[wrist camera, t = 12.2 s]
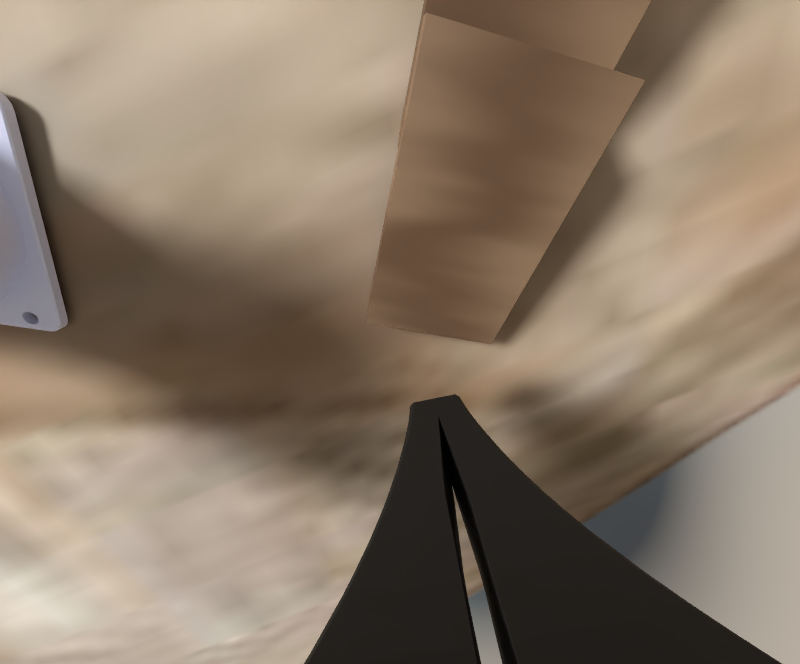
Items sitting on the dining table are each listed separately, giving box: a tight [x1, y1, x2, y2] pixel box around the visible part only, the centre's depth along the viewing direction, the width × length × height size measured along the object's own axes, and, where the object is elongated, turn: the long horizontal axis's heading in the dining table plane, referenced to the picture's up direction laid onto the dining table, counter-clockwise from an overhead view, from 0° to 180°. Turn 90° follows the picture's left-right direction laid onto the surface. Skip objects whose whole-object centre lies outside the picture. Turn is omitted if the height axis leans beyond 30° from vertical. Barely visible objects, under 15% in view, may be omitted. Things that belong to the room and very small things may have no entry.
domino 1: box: [366, 13, 645, 344], centre depth 10 cm, size 5×2×8 cm
